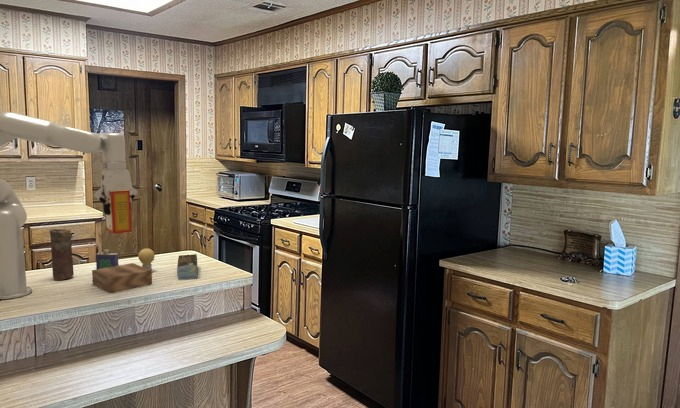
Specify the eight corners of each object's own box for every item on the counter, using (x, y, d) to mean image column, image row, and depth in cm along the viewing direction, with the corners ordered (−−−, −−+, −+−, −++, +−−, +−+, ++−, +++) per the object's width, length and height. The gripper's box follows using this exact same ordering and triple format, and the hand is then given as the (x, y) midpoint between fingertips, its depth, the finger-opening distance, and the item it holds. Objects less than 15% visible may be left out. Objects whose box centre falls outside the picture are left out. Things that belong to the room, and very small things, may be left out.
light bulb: (139, 270, 213) (138, 247, 212) (155, 269, 216) (154, 246, 214) (138, 274, 207) (137, 250, 206) (155, 272, 210) (154, 249, 208)
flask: (120, 274, 208) (118, 248, 206) (116, 275, 205) (115, 250, 203) (98, 273, 208) (97, 248, 207) (94, 275, 205) (93, 250, 204)
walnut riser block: (110, 294, 182) (109, 278, 181) (92, 285, 193) (92, 270, 192) (152, 285, 193) (151, 270, 193) (133, 277, 204) (132, 263, 203)
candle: (54, 276, 203) (51, 228, 200) (74, 274, 206) (71, 227, 203) (51, 281, 196) (48, 231, 193) (73, 279, 199) (69, 230, 196)
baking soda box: (131, 231, 188) (129, 189, 186) (113, 233, 184) (111, 190, 182) (123, 228, 195) (121, 187, 193) (105, 230, 191) (103, 188, 189)
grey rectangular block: (176, 280, 199) (176, 264, 199) (178, 268, 218) (178, 254, 217) (197, 279, 202) (197, 263, 201) (197, 267, 220) (197, 253, 219)
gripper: (96, 167, 178) (99, 217, 180) (142, 165, 191) (144, 211, 193) (86, 167, 182) (89, 215, 185) (132, 165, 196) (134, 210, 198)
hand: (117, 213), depth 189 cm, fingers closed on baking soda box, 7 cm apart
